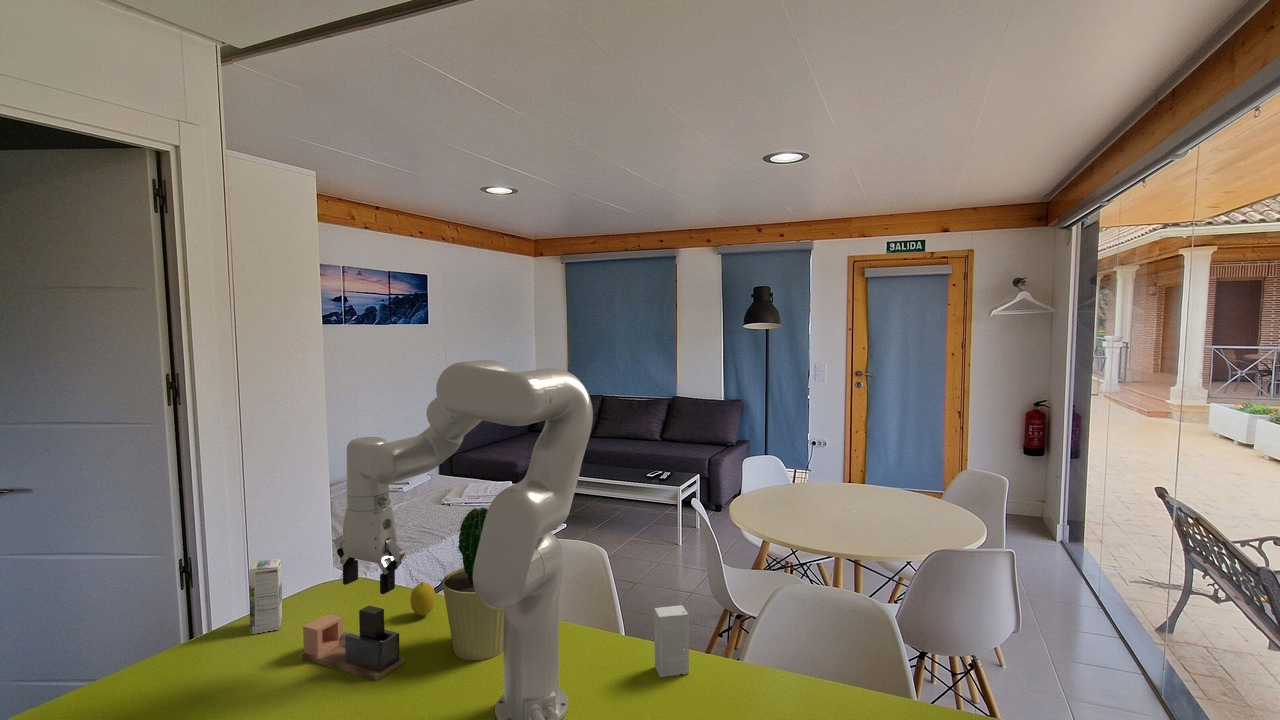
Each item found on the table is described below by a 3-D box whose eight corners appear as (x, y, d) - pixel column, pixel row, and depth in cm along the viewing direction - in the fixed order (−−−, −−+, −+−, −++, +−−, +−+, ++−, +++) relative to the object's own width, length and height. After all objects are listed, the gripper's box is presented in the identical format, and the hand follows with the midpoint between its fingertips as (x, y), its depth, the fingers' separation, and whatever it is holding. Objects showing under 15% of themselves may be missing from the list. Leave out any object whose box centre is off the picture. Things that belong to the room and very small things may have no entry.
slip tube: (392, 654, 123) (391, 609, 123) (380, 661, 120) (379, 616, 120) (350, 643, 128) (349, 600, 127) (338, 650, 125) (337, 606, 124)
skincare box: (683, 663, 125) (683, 604, 124) (689, 674, 121) (689, 614, 120) (653, 666, 123) (653, 607, 123) (658, 678, 119) (658, 617, 119)
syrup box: (253, 624, 141) (251, 561, 140) (283, 619, 143) (281, 557, 143) (249, 635, 136) (247, 570, 135) (281, 630, 138) (279, 566, 138)
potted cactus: (475, 674, 120) (473, 521, 119) (427, 650, 130) (425, 507, 128) (534, 642, 133) (532, 503, 131) (487, 622, 142) (485, 491, 140)
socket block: (342, 642, 131) (342, 617, 130) (318, 656, 125) (317, 630, 125) (329, 639, 132) (328, 613, 132) (303, 652, 127) (303, 626, 126)
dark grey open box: (399, 660, 124) (399, 633, 124) (380, 673, 119) (379, 644, 119) (365, 650, 127) (365, 624, 127) (345, 663, 123) (344, 635, 123)
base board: (403, 662, 125) (403, 657, 125) (376, 680, 118) (376, 675, 118) (331, 642, 133) (331, 638, 133) (301, 658, 126) (301, 653, 126)
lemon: (428, 622, 142) (427, 588, 141) (405, 620, 143) (405, 586, 142) (440, 611, 147) (439, 578, 147) (419, 609, 148) (418, 576, 148)
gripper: (416, 502, 122) (416, 587, 123) (351, 491, 129) (352, 572, 130) (387, 512, 115) (387, 603, 116) (319, 500, 122) (320, 585, 123)
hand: (368, 586), depth 123 cm, fingers open, 9 cm apart
